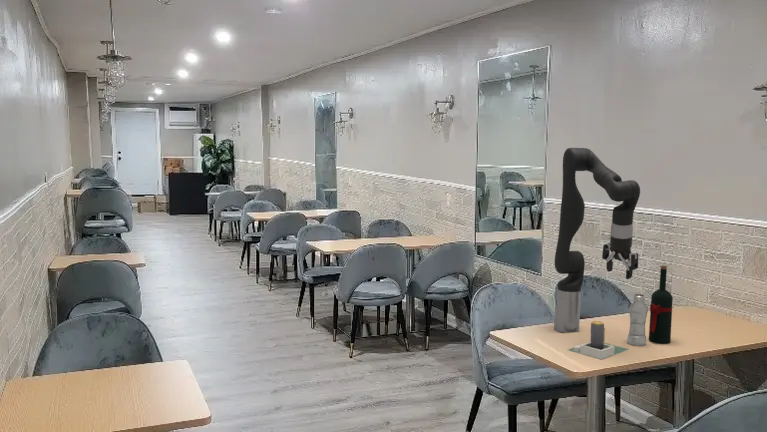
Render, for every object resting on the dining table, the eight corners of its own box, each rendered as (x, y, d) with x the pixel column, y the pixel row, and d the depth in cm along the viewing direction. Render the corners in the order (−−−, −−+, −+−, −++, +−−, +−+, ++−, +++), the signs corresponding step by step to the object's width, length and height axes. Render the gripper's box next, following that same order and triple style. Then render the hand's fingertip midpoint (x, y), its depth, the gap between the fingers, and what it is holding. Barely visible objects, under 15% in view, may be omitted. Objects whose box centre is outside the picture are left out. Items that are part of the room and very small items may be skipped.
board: (566, 353, 235) (567, 341, 235) (595, 343, 247) (595, 332, 247) (601, 362, 225) (601, 351, 224) (629, 352, 237) (629, 341, 236)
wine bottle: (641, 341, 251) (645, 265, 248) (655, 337, 257) (659, 263, 254) (660, 346, 245) (665, 269, 242) (674, 341, 251) (678, 266, 248)
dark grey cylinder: (594, 356, 228) (595, 324, 227) (587, 352, 232) (588, 321, 231) (607, 355, 229) (608, 323, 228) (599, 351, 234) (600, 320, 232)
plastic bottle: (623, 344, 247) (626, 293, 245) (640, 343, 248) (643, 293, 246) (631, 349, 241) (634, 297, 239) (649, 349, 241) (651, 297, 239)
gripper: (645, 237, 229) (641, 278, 234) (612, 226, 241) (610, 266, 246) (630, 242, 225) (628, 283, 231) (598, 231, 237) (596, 271, 242)
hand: (618, 274), depth 238 cm, fingers open, 8 cm apart
